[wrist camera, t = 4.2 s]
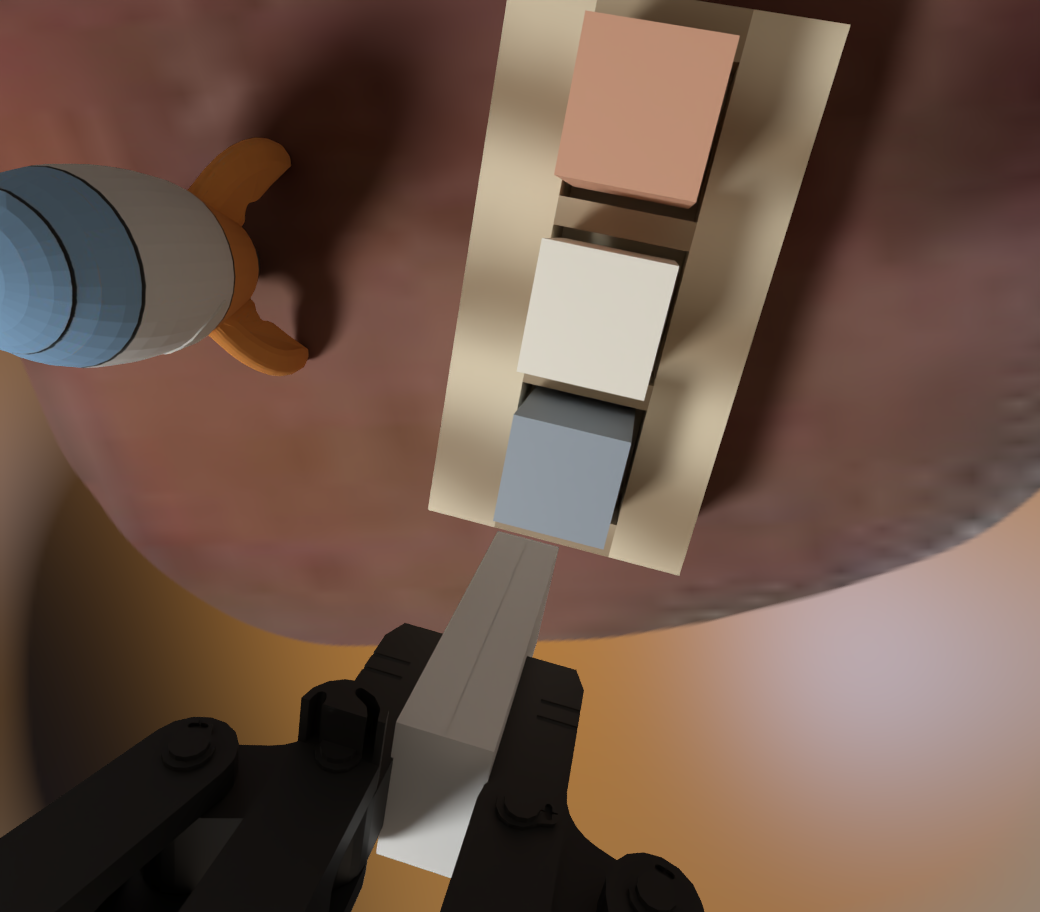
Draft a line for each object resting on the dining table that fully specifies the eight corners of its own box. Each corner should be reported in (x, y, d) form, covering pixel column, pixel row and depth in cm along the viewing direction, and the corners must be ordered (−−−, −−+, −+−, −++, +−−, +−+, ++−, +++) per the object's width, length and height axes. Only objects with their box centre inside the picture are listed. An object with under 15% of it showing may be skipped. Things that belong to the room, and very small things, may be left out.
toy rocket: (357, 361, 34) (93, 501, 21) (195, 336, 37) (-115, 445, 25) (334, 137, 29) (-22, 148, 17) (151, 132, 33) (-258, 139, 20)
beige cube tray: (536, 17, 27) (511, -29, 22) (815, 63, 25) (850, 24, 21) (459, 471, 34) (428, 509, 29) (675, 526, 32) (679, 575, 28)
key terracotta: (599, 56, 23) (585, 10, 18) (722, 77, 22) (740, 35, 18) (573, 186, 24) (553, 174, 20) (688, 208, 24) (696, 202, 19)
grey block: (537, 384, 28) (513, 414, 23) (635, 408, 28) (631, 442, 23) (519, 475, 29) (492, 520, 25) (611, 499, 29) (603, 549, 24)
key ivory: (563, 237, 25) (542, 238, 20) (674, 260, 24) (679, 265, 20) (541, 347, 26) (516, 371, 22) (646, 371, 26) (643, 400, 21)
